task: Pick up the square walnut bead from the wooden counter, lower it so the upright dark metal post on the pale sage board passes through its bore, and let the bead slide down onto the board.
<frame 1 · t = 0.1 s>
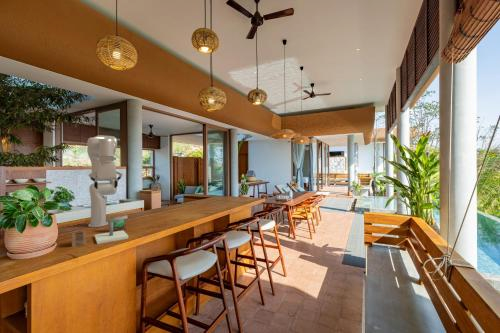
hand: (106, 188, 137), 31 cm above the table, tool pointing down, fingers open, 9 cm apart
food container: (116, 231, 157), on the table
post stand: (111, 237, 142), on the table
bead: (79, 244, 131), on the table
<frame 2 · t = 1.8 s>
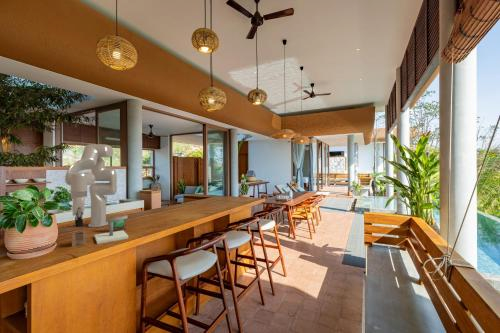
hand: (78, 225, 130), 11 cm above the table, tool pointing down, fingers open, 9 cm apart
nothing on the table moved.
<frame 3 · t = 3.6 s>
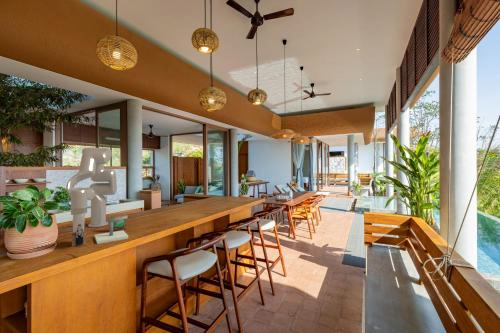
hand: (79, 242, 131), 1 cm above the table, tool pointing down, fingers closed on bead, 6 cm apart
bead: (79, 244, 131), on the table, touching gripper
everything else where it was.
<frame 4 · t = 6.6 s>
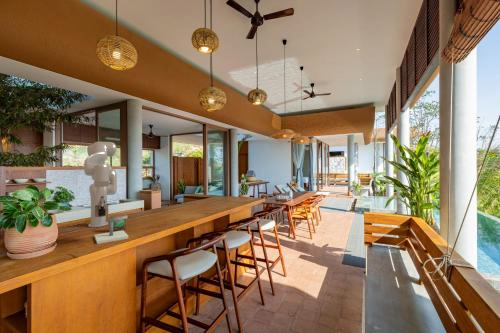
hand: (101, 214, 139), 15 cm above the table, tool pointing down, fingers closed on bead, 6 cm apart
bead: (101, 215, 139), point 14 cm above the table, touching gripper
everything else where it was.
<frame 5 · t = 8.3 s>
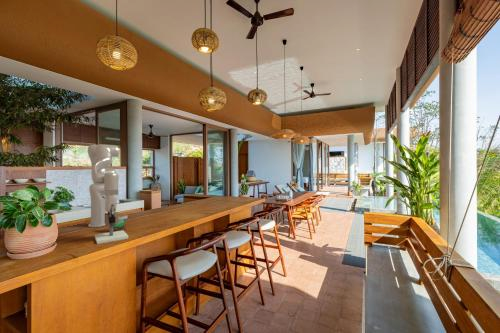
hand: (111, 221, 142), 10 cm above the table, tool pointing down, fingers closed on bead, 6 cm apart
bead: (111, 223, 142), point 9 cm above the table, touching gripper
everything else where it was.
when the fingers open (7 cm above the table, at t = 9.8 s): bead drops 5 cm, resting on post stand.
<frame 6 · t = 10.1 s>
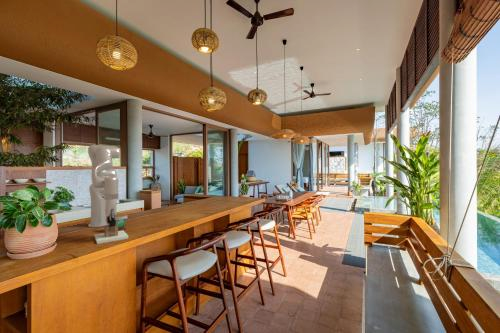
hand: (111, 224, 142), 8 cm above the table, tool pointing down, fingers open, 9 cm apart
bead: (111, 235, 142), point 1 cm above the table, touching post stand
everything else where it was.
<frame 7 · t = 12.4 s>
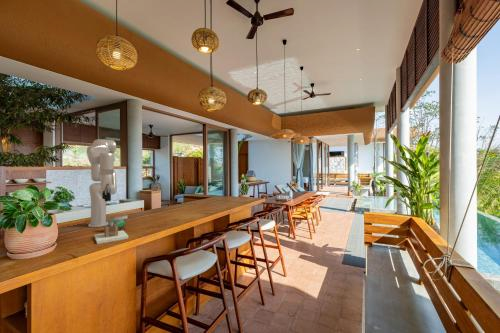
hand: (106, 199, 143), 23 cm above the table, tool pointing down, fingers open, 9 cm apart
nothing on the table moved.
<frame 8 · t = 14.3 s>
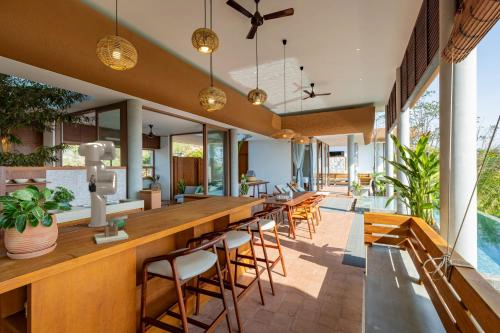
hand: (92, 191, 145), 28 cm above the table, tool pointing down, fingers open, 9 cm apart
nothing on the table moved.
at the end: bead 0.1 cm off-centre on the post stand, point 1.5 cm above the post stand's base; bead tilted 0°; the gripper is holding nothing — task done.
